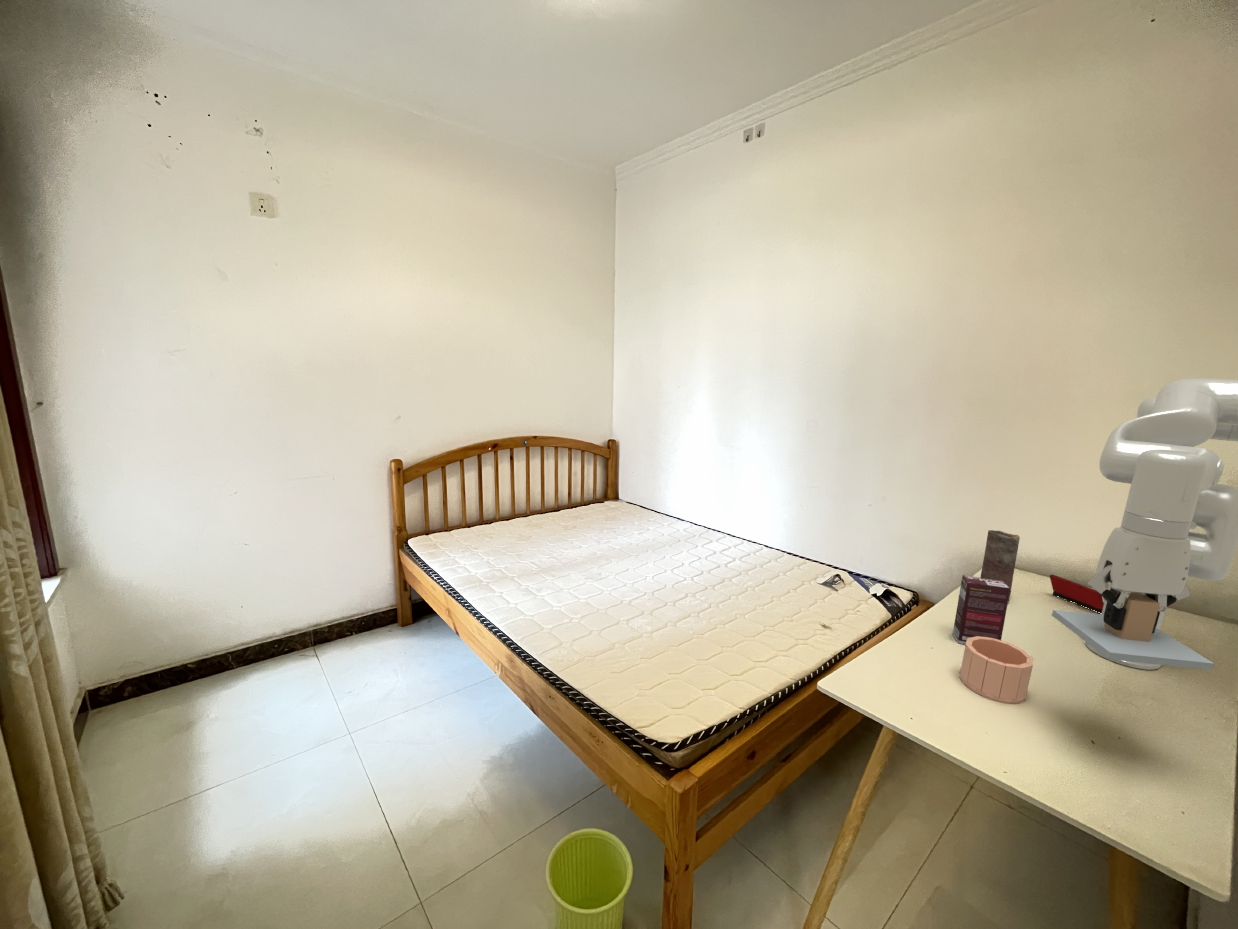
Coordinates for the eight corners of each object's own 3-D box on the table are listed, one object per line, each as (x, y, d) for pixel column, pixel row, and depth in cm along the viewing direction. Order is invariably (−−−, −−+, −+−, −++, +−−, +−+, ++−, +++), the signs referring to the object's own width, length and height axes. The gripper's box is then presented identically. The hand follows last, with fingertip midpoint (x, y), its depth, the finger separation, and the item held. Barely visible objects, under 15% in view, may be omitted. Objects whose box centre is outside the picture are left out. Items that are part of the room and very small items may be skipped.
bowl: (1006, 673, 108) (1013, 640, 107) (1037, 707, 98) (1046, 670, 96) (950, 666, 110) (956, 634, 109) (975, 699, 100) (982, 663, 98)
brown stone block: (970, 592, 147) (982, 528, 143) (993, 592, 148) (1006, 528, 144) (991, 605, 140) (1004, 537, 135) (1015, 604, 140) (1029, 537, 136)
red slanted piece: (1120, 612, 138) (1127, 587, 136) (1094, 617, 135) (1100, 592, 133) (1068, 592, 149) (1074, 569, 148) (1043, 596, 146) (1048, 573, 145)
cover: (1138, 623, 91) (1149, 582, 90) (1211, 670, 78) (1226, 622, 76) (1051, 615, 94) (1060, 575, 92) (1108, 659, 80) (1120, 612, 78)
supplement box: (991, 640, 121) (1004, 579, 118) (999, 651, 117) (1012, 588, 114) (950, 633, 124) (961, 574, 121) (956, 643, 120) (968, 582, 116)
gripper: (1193, 522, 83) (1166, 622, 87) (1079, 515, 86) (1057, 611, 90) (1239, 538, 76) (1206, 645, 80) (1112, 529, 79) (1087, 633, 83)
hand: (1128, 626), depth 85 cm, fingers closed on cover, 4 cm apart
